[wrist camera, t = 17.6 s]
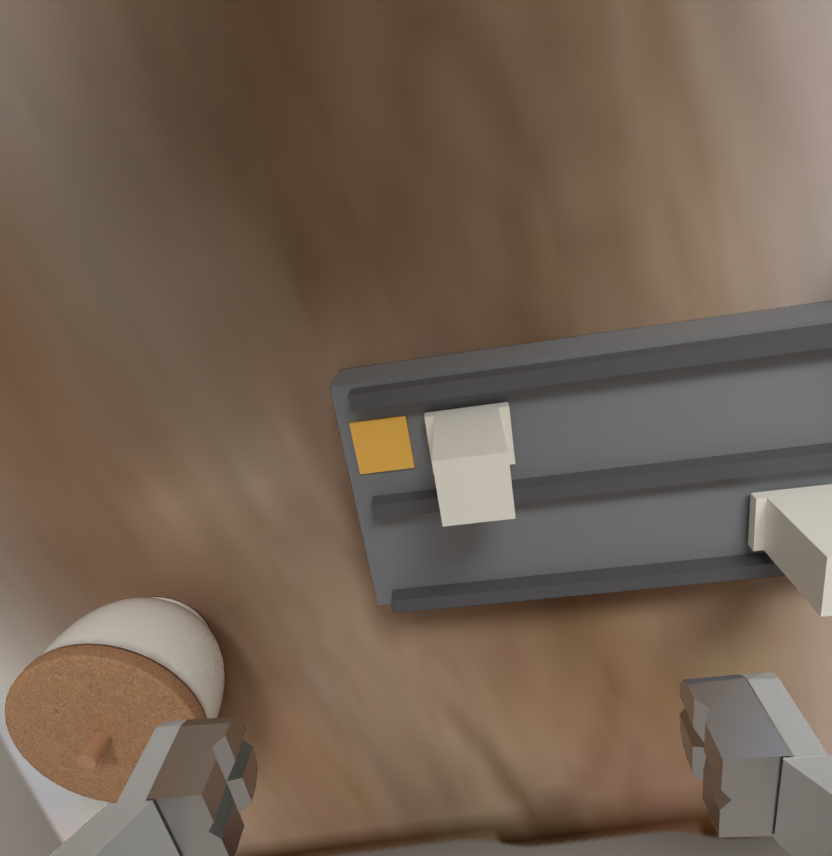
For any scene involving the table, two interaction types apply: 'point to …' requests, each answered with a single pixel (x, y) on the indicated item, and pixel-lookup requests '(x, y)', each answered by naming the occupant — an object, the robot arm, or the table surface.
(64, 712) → the lidded jar
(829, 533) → the tab
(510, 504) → the tab
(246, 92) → the table surface
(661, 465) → the switch board
